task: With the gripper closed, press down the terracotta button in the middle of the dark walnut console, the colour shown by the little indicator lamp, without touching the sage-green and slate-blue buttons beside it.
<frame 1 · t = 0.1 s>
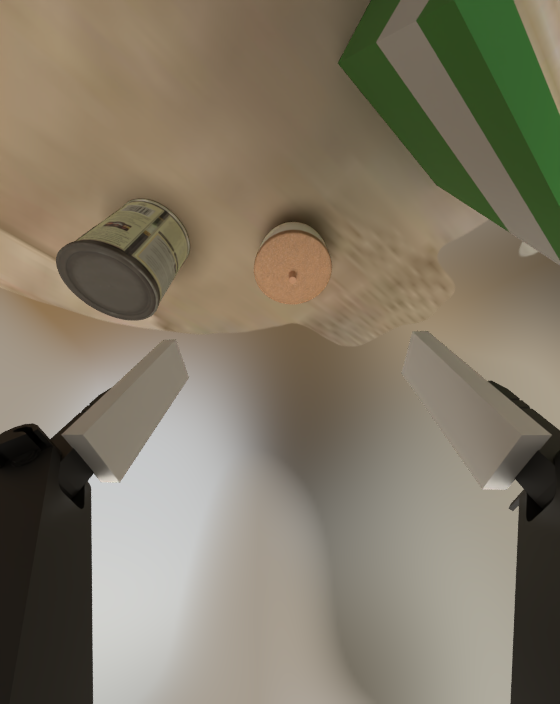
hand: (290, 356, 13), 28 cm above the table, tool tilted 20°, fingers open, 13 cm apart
hardback book: (424, 91, 23), on the table
coffee can: (157, 235, 35), on the table
lidded jar: (292, 247, 36), on the table
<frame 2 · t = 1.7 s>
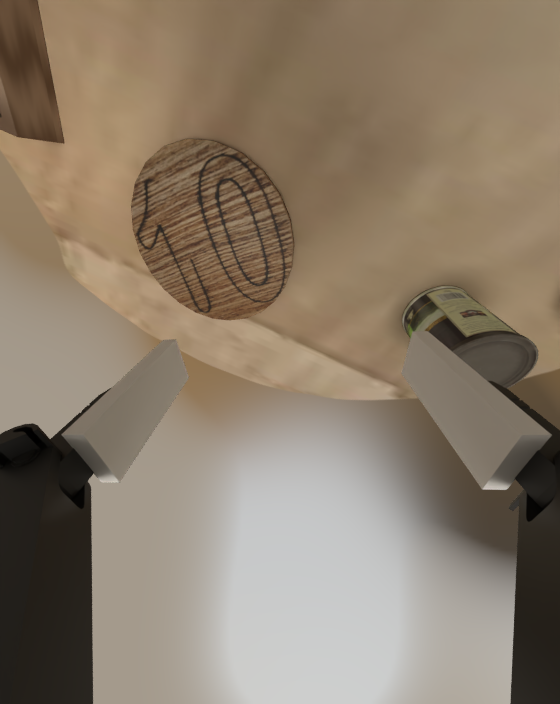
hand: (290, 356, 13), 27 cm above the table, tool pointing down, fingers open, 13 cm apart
trivet: (217, 246, 36), on the table
coffee can: (434, 313, 38), on the table
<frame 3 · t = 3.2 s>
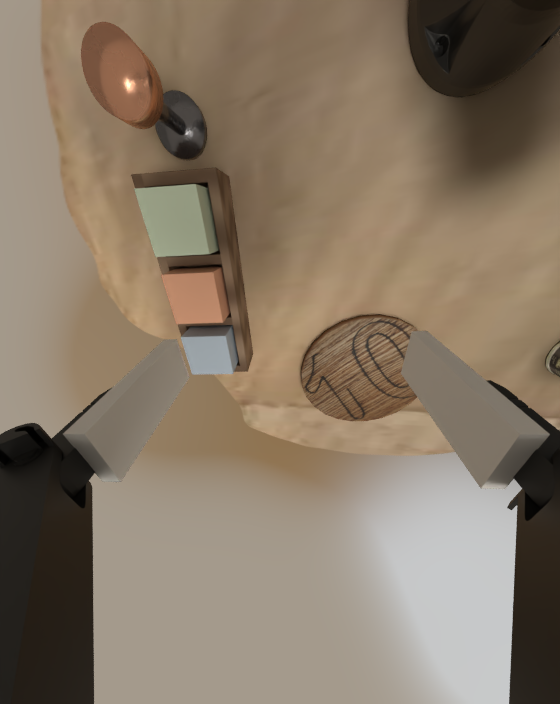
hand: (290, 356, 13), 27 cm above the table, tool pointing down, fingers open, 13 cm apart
terracotta button: (199, 295, 32), point 7 cm above the table, slide at 0.0 cm
trivet: (362, 370, 46), on the table
sage button: (181, 223, 27), point 7 cm above the table, slide at 0.0 cm
button console: (214, 283, 38), on the table
indicator lamp: (183, 129, 28), on the table
slate button: (212, 349, 36), point 7 cm above the table, slide at 0.0 cm
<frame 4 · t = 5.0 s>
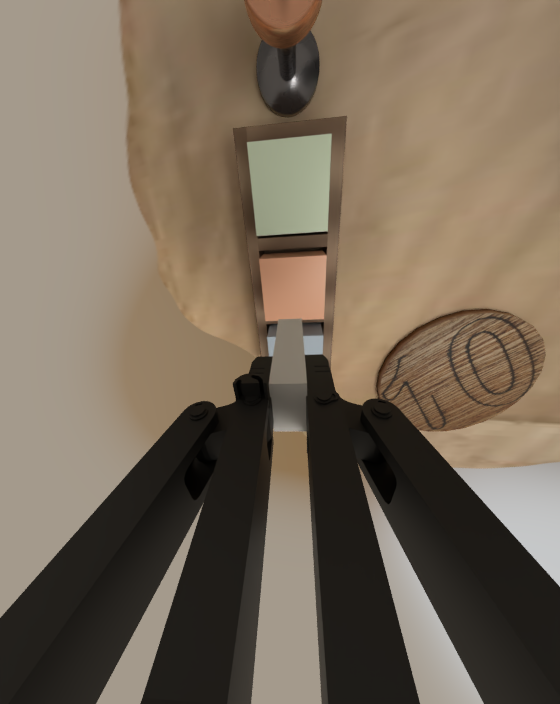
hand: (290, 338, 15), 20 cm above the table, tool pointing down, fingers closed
terracotta button: (293, 286, 26), point 7 cm above the table, slide at 0.0 cm
trivet: (448, 374, 40), on the table
sage button: (290, 192, 21), point 7 cm above the table, slide at 0.0 cm
button console: (293, 273, 32), on the table
indicator lamp: (288, 74, 22), on the table
slate button: (295, 351, 30), point 7 cm above the table, slide at 0.0 cm
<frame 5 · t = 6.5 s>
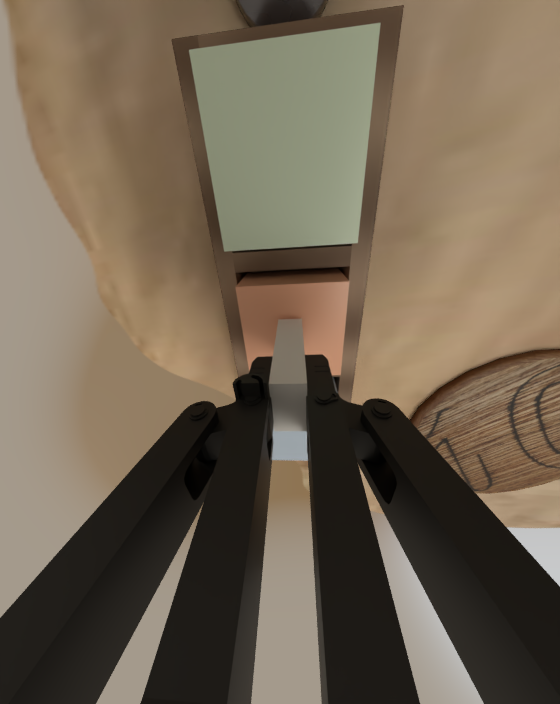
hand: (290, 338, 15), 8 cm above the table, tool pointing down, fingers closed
terracotta button: (293, 323, 17), point 6 cm above the table, slide at 1.0 cm, touching gripper
trivet: (500, 427, 30), on the table
sage button: (287, 169, 11), point 7 cm above the table, slide at 0.0 cm
button console: (293, 298, 22), on the table
slate button: (296, 417, 20), point 7 cm above the table, slide at 0.0 cm
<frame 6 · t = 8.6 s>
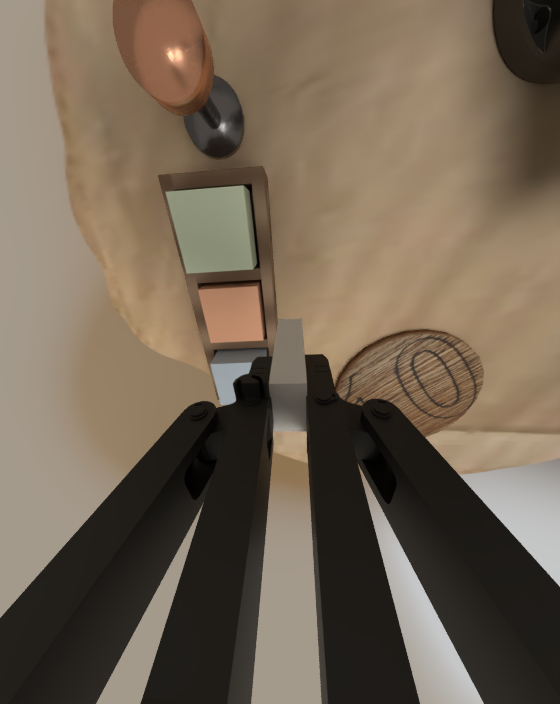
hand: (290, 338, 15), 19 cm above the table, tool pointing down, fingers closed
terracotta button: (235, 310, 29), point 5 cm above the table, slide at 1.8 cm
trivet: (400, 389, 42), on the table
sage button: (218, 232, 23), point 7 cm above the table, slide at 0.0 cm
button console: (242, 299, 33), on the table
indicator lamp: (216, 122, 24), on the table
slate button: (243, 375, 31), point 7 cm above the table, slide at 0.0 cm
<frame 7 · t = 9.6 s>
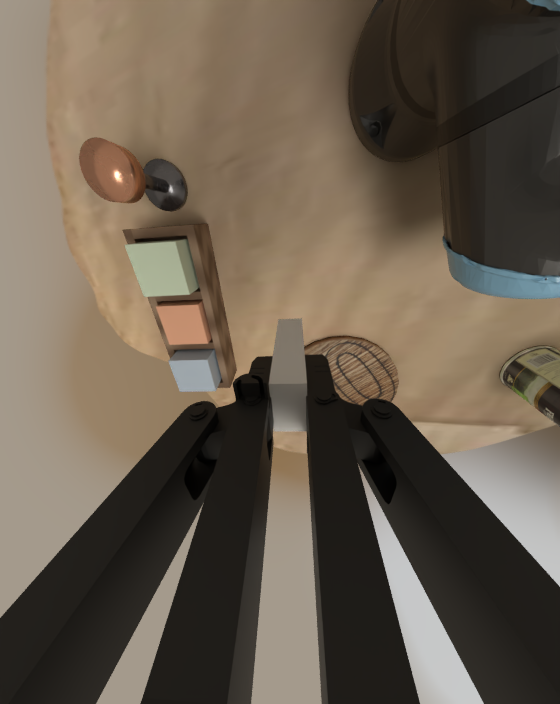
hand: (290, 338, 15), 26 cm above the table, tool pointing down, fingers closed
terracotta button: (187, 321, 38), point 5 cm above the table, slide at 1.8 cm
trivet: (336, 384, 50), on the table
coffee can: (527, 366, 45), on the table
sage button: (165, 268, 32), point 7 cm above the table, slide at 0.0 cm
button console: (199, 310, 42), on the table
indicator lamp: (167, 187, 33), on the table
slate button: (197, 369, 41), point 7 cm above the table, slide at 0.0 cm
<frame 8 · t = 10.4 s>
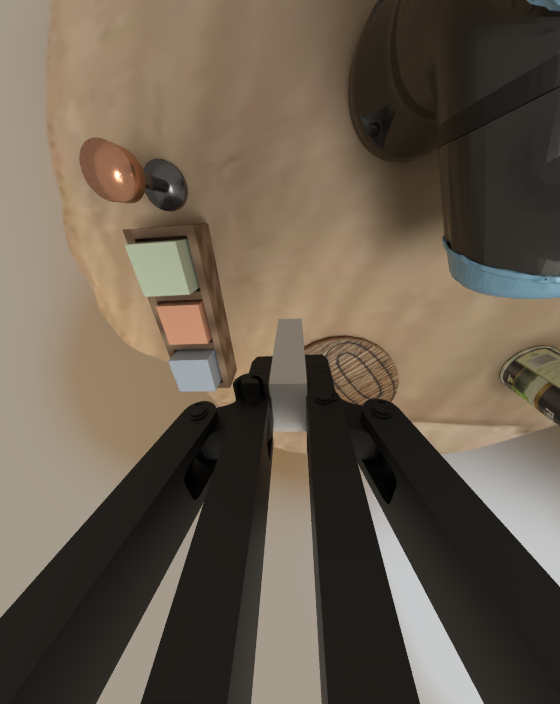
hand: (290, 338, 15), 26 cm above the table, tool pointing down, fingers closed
terracotta button: (187, 321, 38), point 5 cm above the table, slide at 1.8 cm
trivet: (336, 384, 50), on the table
coffee can: (528, 366, 45), on the table
sage button: (165, 268, 32), point 7 cm above the table, slide at 0.0 cm
button console: (199, 310, 42), on the table
indicator lamp: (167, 187, 33), on the table
slate button: (197, 369, 41), point 7 cm above the table, slide at 0.0 cm
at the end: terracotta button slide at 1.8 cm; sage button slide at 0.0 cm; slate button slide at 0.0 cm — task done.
